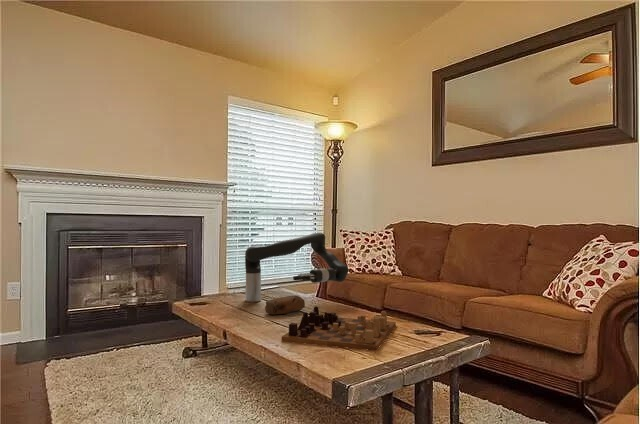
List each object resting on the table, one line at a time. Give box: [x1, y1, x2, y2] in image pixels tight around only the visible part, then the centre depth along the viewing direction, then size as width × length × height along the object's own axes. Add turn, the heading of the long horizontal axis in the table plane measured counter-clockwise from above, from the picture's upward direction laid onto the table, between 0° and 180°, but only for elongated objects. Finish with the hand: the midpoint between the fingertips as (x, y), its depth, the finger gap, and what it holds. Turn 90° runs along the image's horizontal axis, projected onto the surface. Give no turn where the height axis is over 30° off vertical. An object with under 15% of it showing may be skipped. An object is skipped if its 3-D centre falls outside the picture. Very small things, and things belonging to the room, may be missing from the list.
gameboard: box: [281, 305, 397, 351], centre depth 190 cm, size 40×40×9 cm
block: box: [264, 295, 306, 315], centre depth 231 cm, size 11×8×20 cm
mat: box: [284, 310, 301, 316], centre depth 236 cm, size 20×8×1 cm, turn 37°
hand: (294, 278), depth 234 cm, fingers closed
